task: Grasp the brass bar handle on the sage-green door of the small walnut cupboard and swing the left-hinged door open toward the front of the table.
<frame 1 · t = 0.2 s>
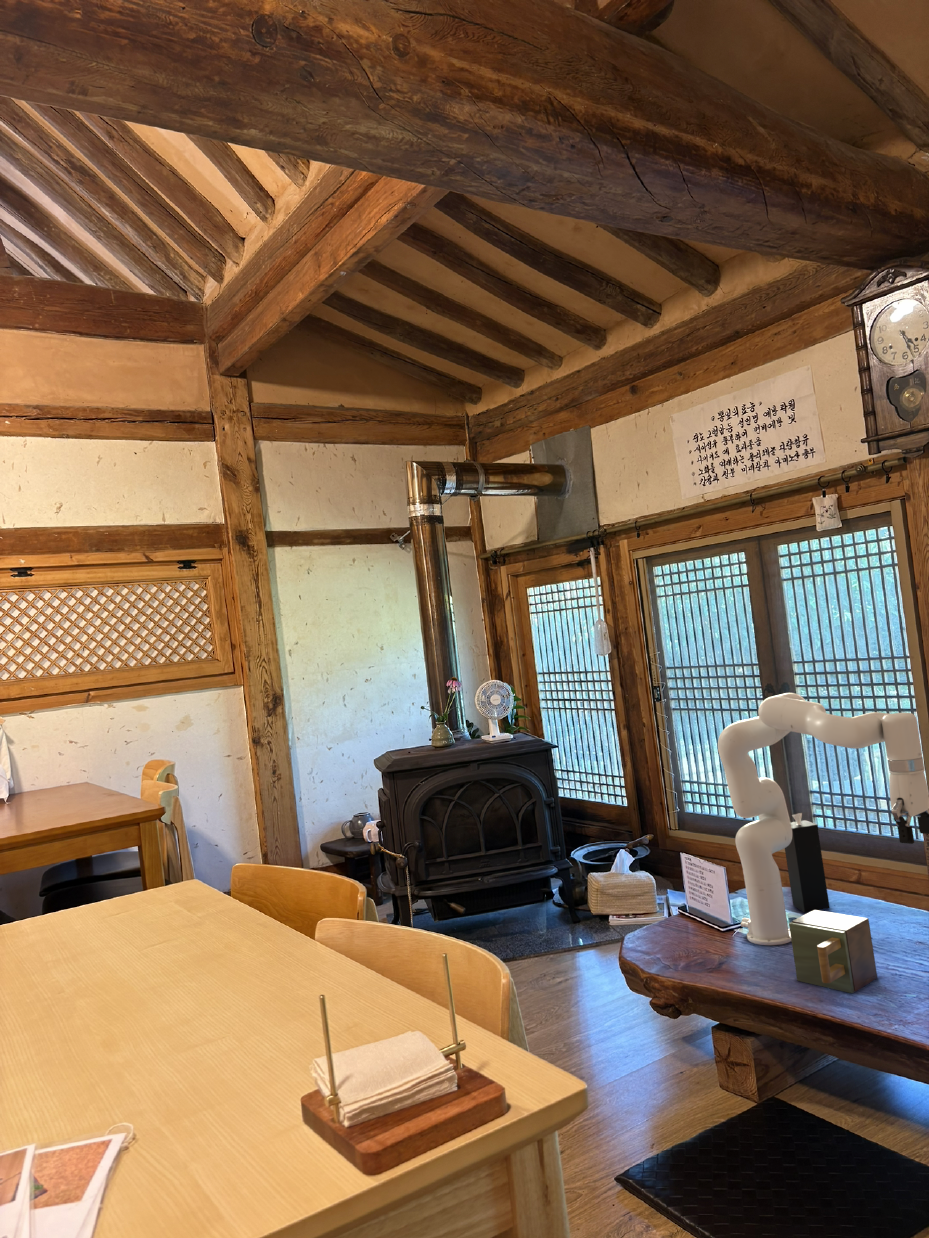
hand: (917, 838, 211), 31 cm above the table, tool pointing down, fingers open, 9 cm apart
tall black block: (811, 908, 266), on the table
door: (812, 961, 207), point 7 cm above the table, hinge at 0.0°
cupboard: (838, 978, 213), on the table
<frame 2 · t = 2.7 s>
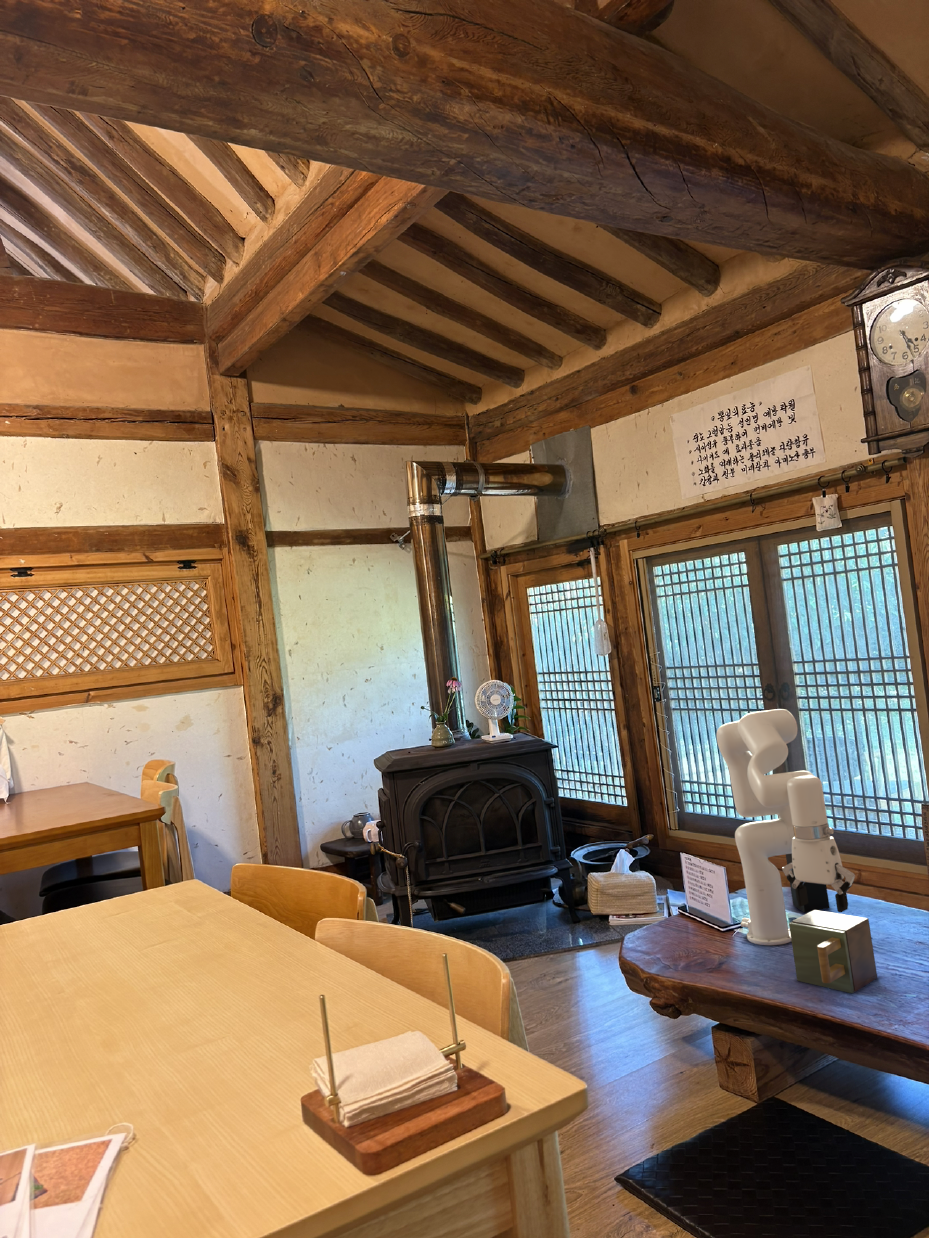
hand: (822, 907, 202), 21 cm above the table, tool pointing down, fingers open, 9 cm apart
nothing on the table moved.
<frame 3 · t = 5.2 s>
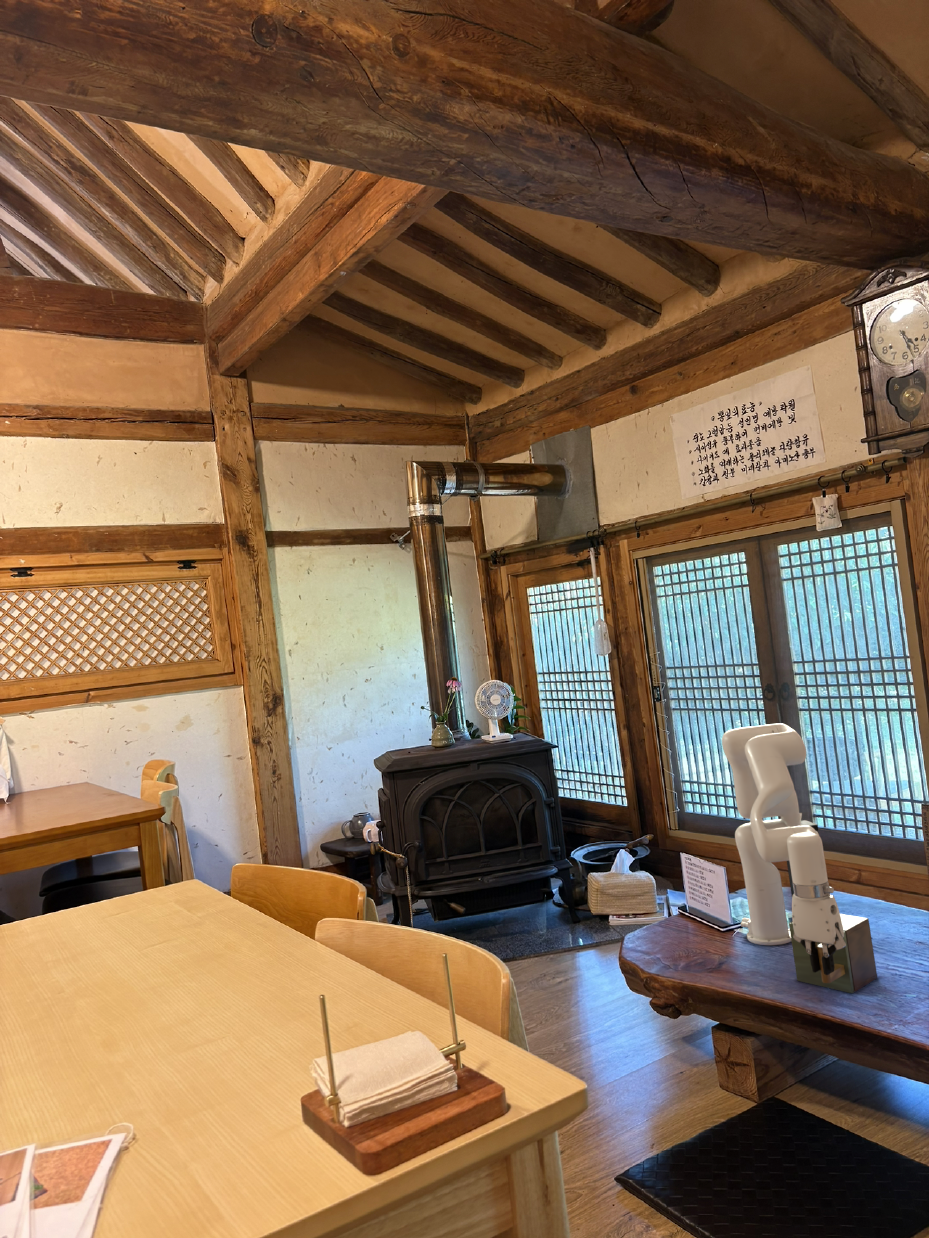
hand: (823, 971, 201), 7 cm above the table, tool pointing down, fingers closed on door, 2 cm apart
door: (812, 961, 207), point 7 cm above the table, hinge at 0.0°, touching gripper
everything else where it was.
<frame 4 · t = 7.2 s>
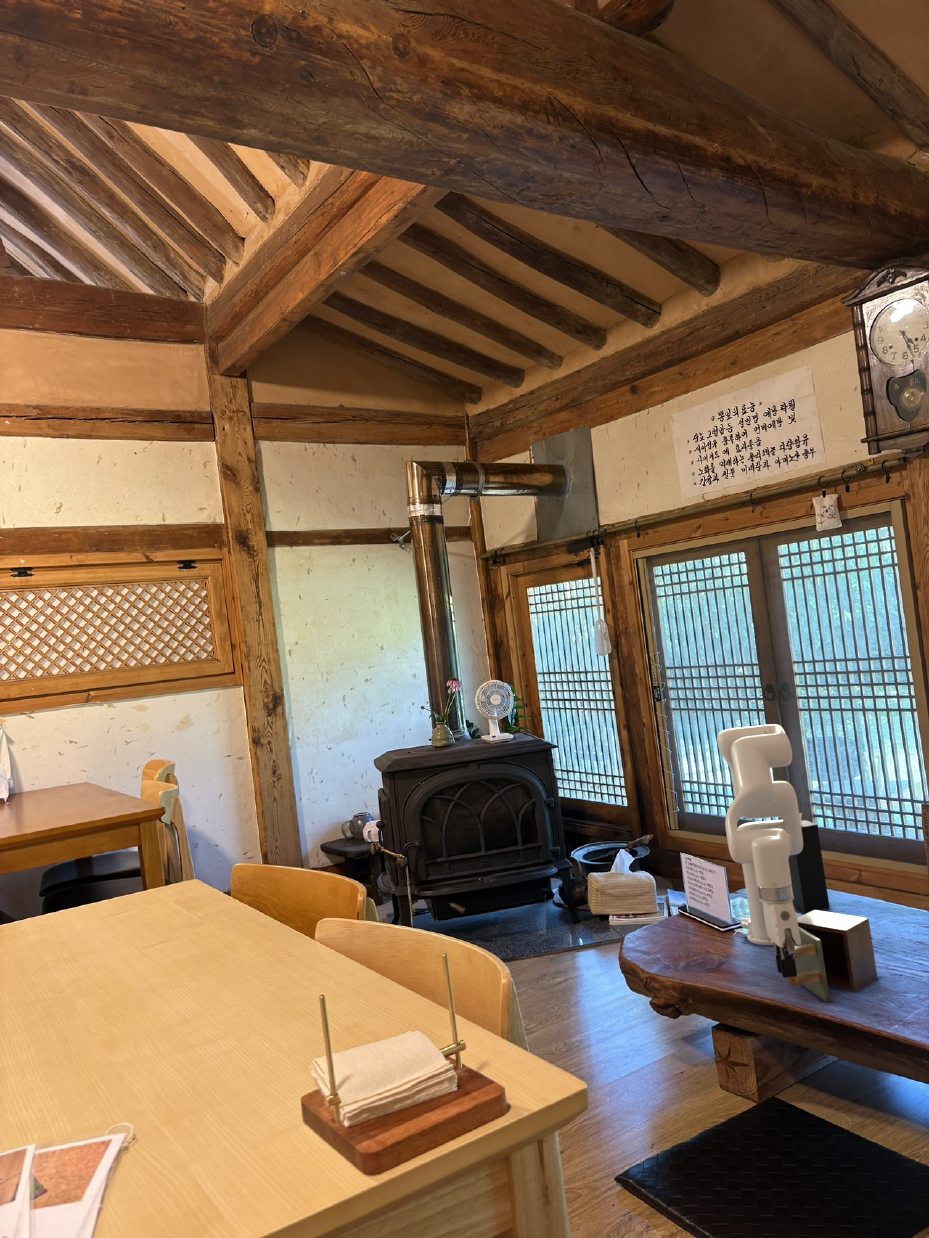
hand: (787, 973, 202), 7 cm above the table, tool pointing down, fingers closed on door, 2 cm apart
door: (794, 963, 208), point 7 cm above the table, hinge at 31.1°, touching gripper
everything else where it was.
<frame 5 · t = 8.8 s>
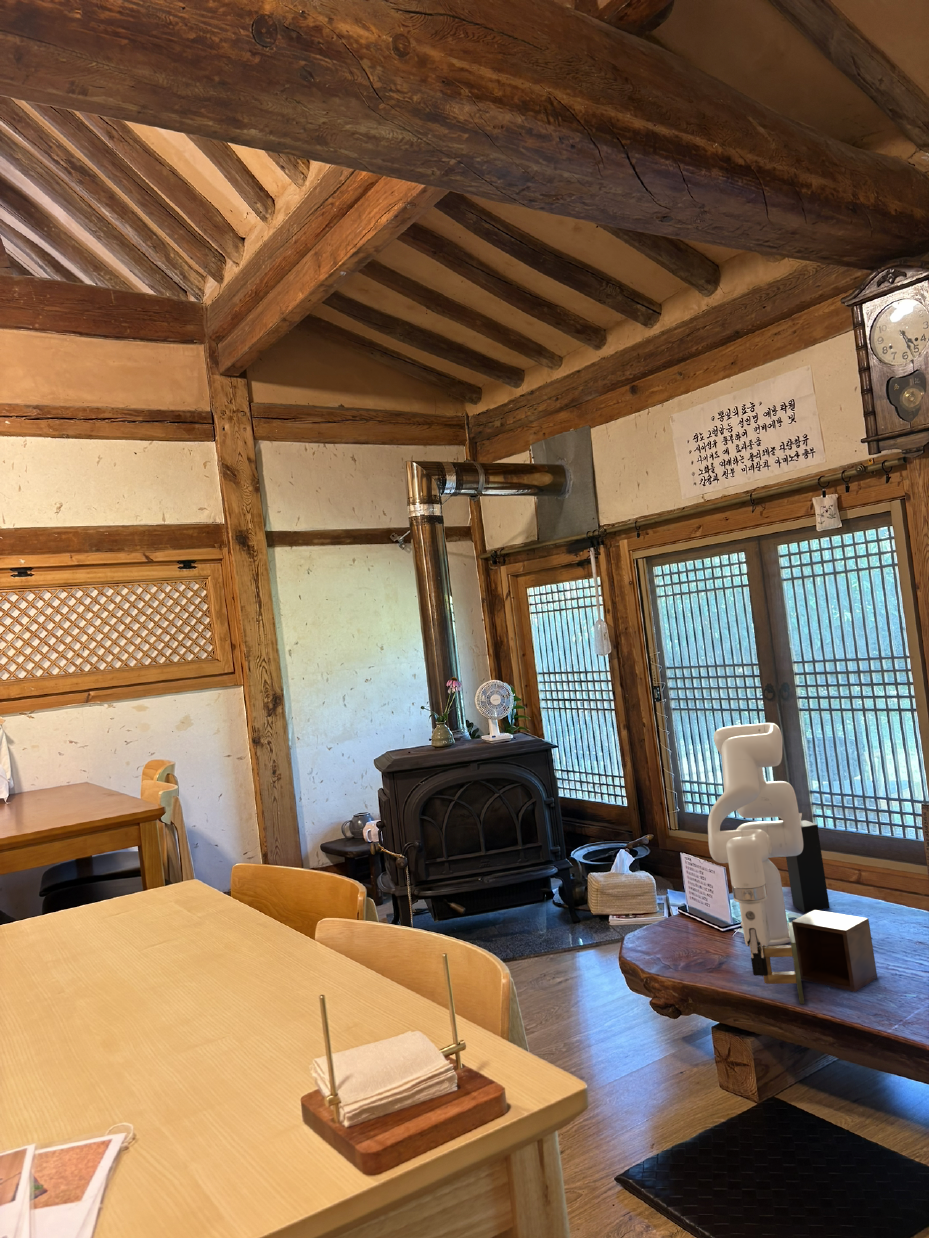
hand: (761, 972, 206), 7 cm above the table, tool pointing down, fingers closed
door: (780, 962, 209), point 7 cm above the table, hinge at 54.4°
everything else where it was.
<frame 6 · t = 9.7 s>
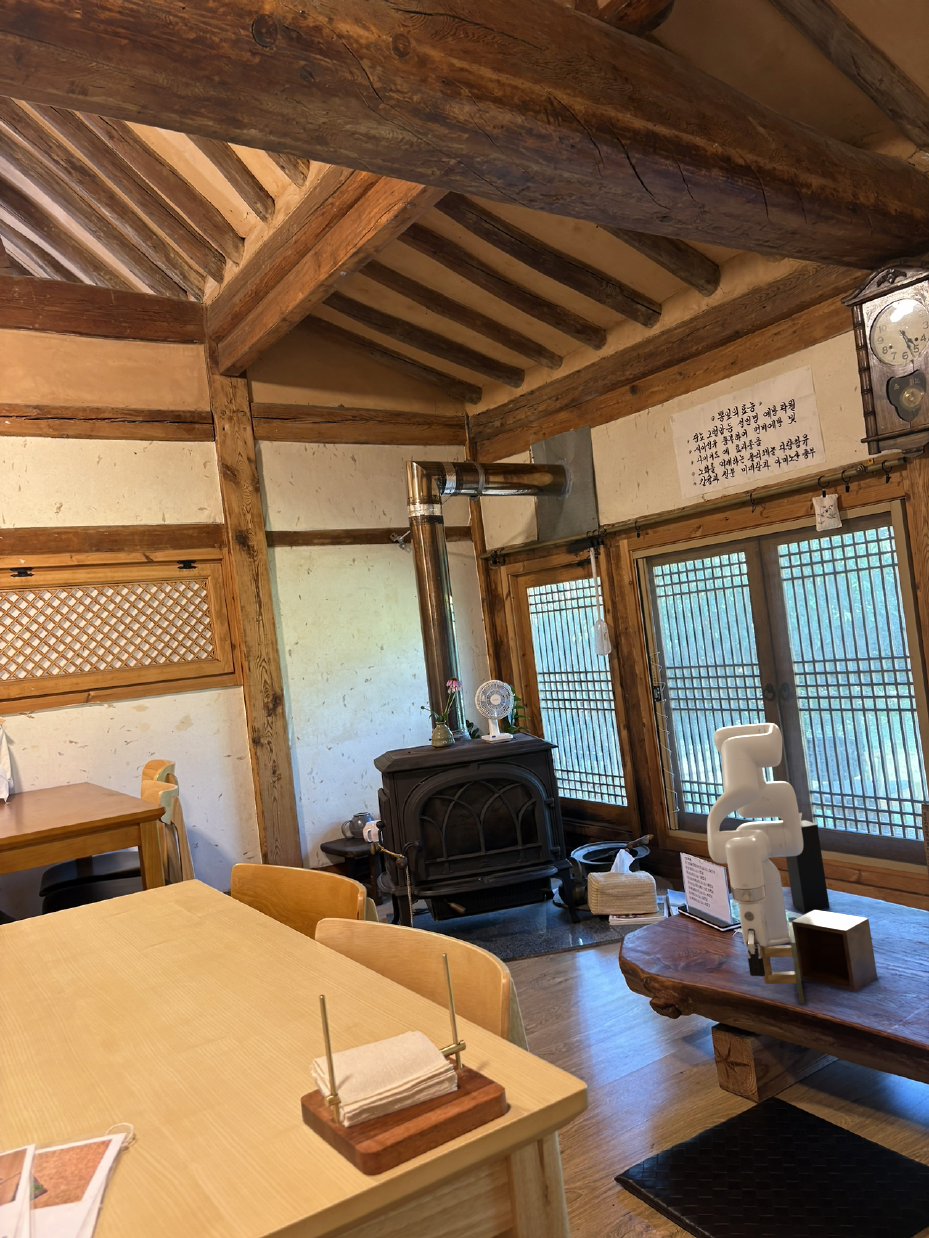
hand: (759, 967, 206), 8 cm above the table, tool pointing down, fingers open, 9 cm apart
nothing on the table moved.
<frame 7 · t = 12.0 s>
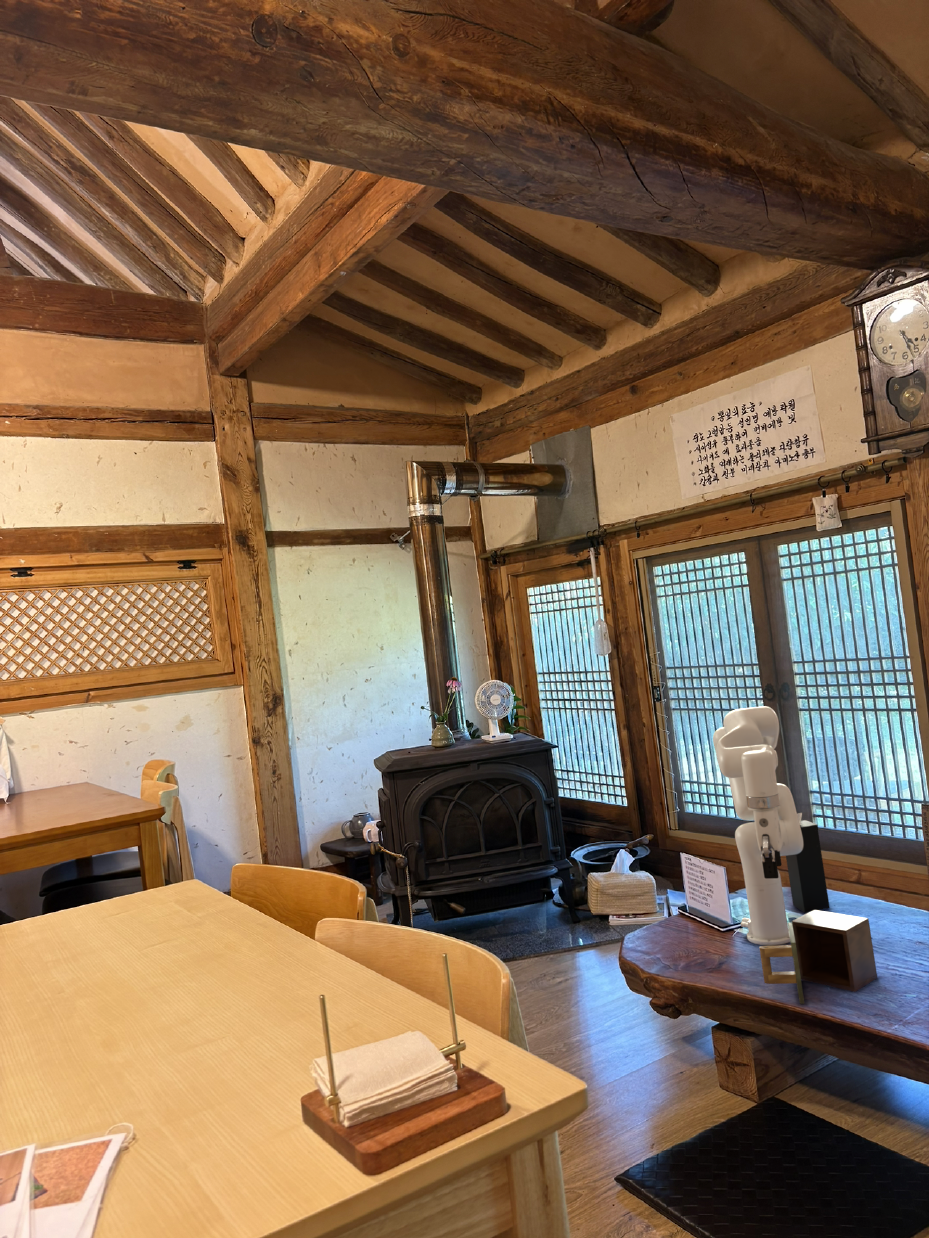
hand: (773, 871, 217), 26 cm above the table, tool pointing down, fingers open, 9 cm apart
nothing on the table moved.
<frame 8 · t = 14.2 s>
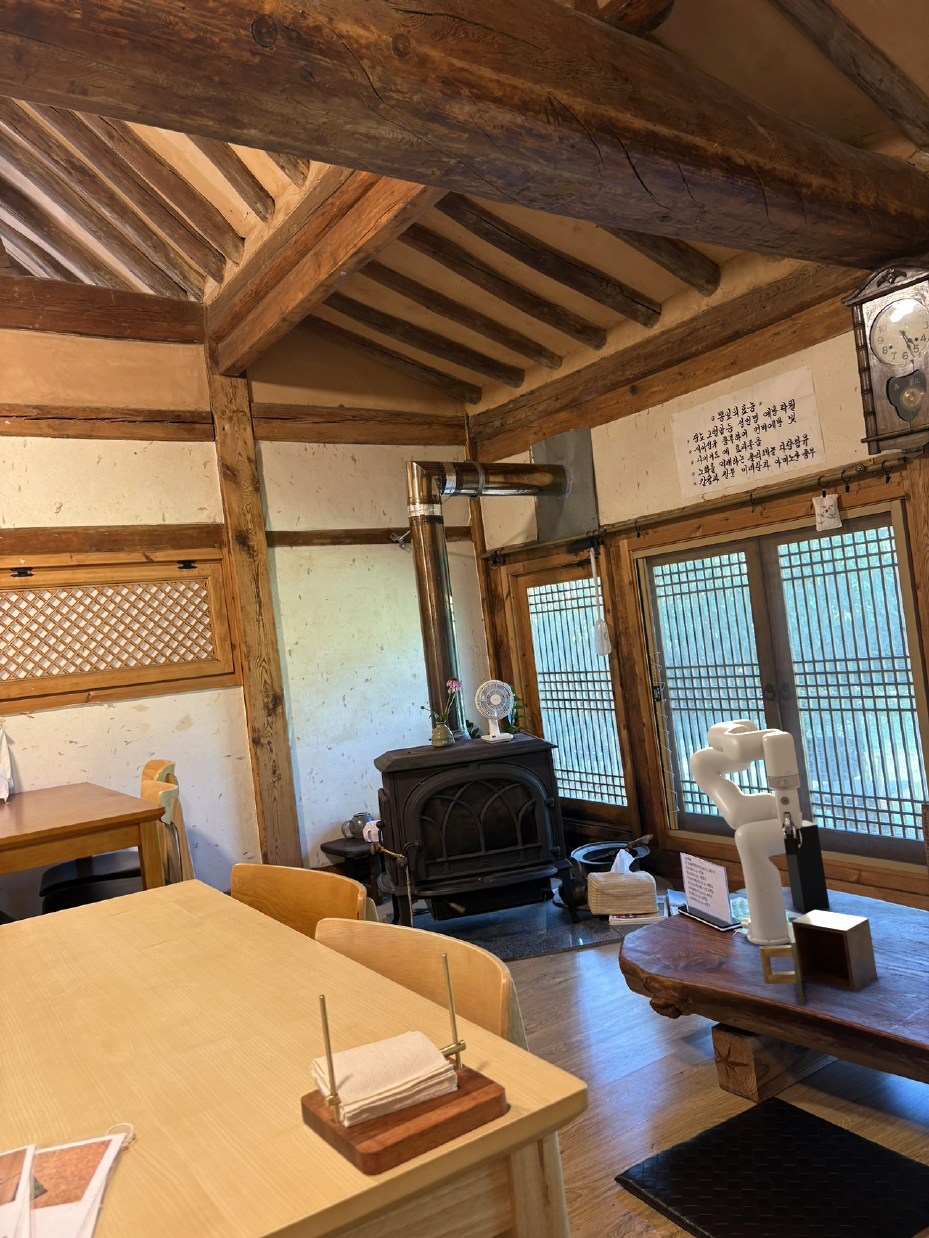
hand: (793, 849, 226), 28 cm above the table, tool pointing down, fingers open, 9 cm apart
nothing on the table moved.
at the end: door at +54° (first picture: +0°) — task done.
